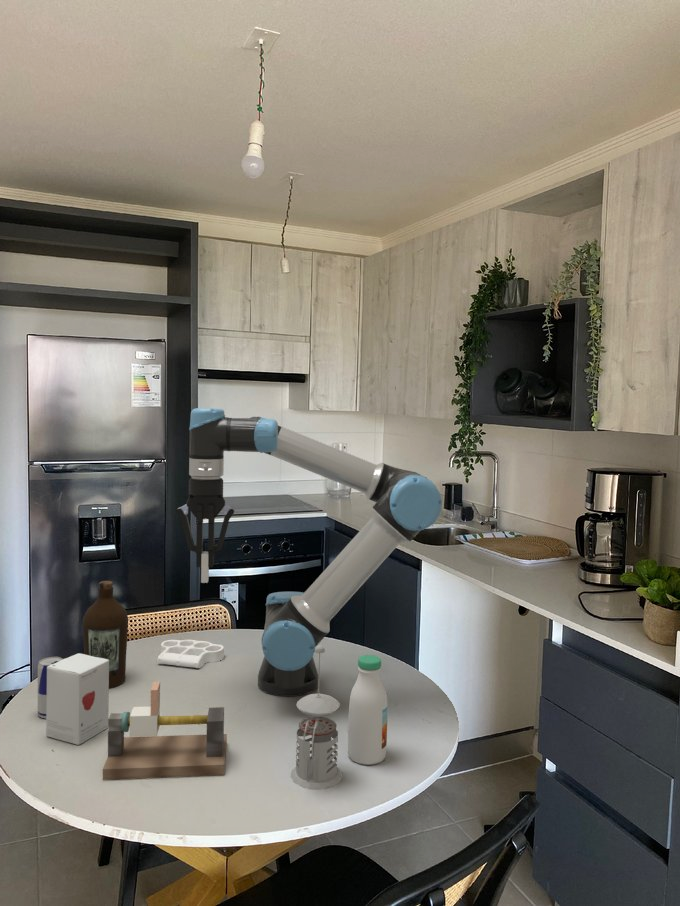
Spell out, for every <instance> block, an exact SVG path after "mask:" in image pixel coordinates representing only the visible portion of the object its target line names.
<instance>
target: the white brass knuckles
mask: <svg viewBox="0 0 680 906" xmlns="http://www.w3.org/2000/svg"><path fill="white" fill-rule="evenodd" d="M223 658H225V647H224V646H223V645H222V644H215V643H212V642H210V641H206V640H195V639H183V640H182V639H181V640H179V639H178V640H177V639H169V640H168V639H167V640H164V641H162V642H161V643H160V654H159V655H158V657H157V660H156V661H157V664H160V665H169V666H176V667H183V668H184V667H185V668H195V669H198V668H199V669H201V668H203V666H205V664H204V663H206V664H208V663H207V662H214V663H218V662H217V661H219V662H221V661H223V660H224V659H223ZM222 659H223V660H222ZM220 660H221V661H220ZM200 667H201V668H200Z"/></svg>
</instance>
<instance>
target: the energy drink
mask: <svg viewBox="0 0 680 906" xmlns="http://www.w3.org/2000/svg"><path fill="white" fill-rule="evenodd" d="M63 659H64V658H62V657H60V656H49V657H44V658H42V659H39V661H38V665H37V716H38V717H39V718H40V717H41V719H43V718H44V719H45V720H46V706H47V666H50V665H52V664H54V663H57V662H59V661H61V660H63Z"/></svg>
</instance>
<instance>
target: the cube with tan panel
mask: <svg viewBox="0 0 680 906" xmlns="http://www.w3.org/2000/svg"><path fill="white" fill-rule="evenodd" d="M159 716H161V681H153V683H152V686H151V688H150V706H133V707H132V710H131V712H130V726H129V737H147V736H158V732H159V731H160V726H161V725H157V724H158V717H159Z"/></svg>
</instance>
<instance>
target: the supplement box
mask: <svg viewBox="0 0 680 906" xmlns="http://www.w3.org/2000/svg"><path fill="white" fill-rule="evenodd" d="M62 659H63V660H61V661H59V662H57V663H54V664H52V665H50V666H47V706H46V719H45V720H46V722H45V725H46V726H45V729H46V730H45V735H46V737H49V738H52V739H55V740H58V741H64V742H65V743H70V744H74V745H76V746H80V745H82V744H83V743H85V742H86V741H88V740H89V739H91V738H94V736H96V735H98V734H100V733H101V732H104V731H105V730H107V729H108V719H109V707H110V706H109V704H110V703H109V702H110V701H109V699H110V697H109V694H110V693H109V691H110V688H109V660H108V659H104V658H98V657H93V656H89V655H85V654H84V653H79V652H78V653H76V654H74V655H73V654H72V655H71V656H69V657H66V658H62Z"/></svg>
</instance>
